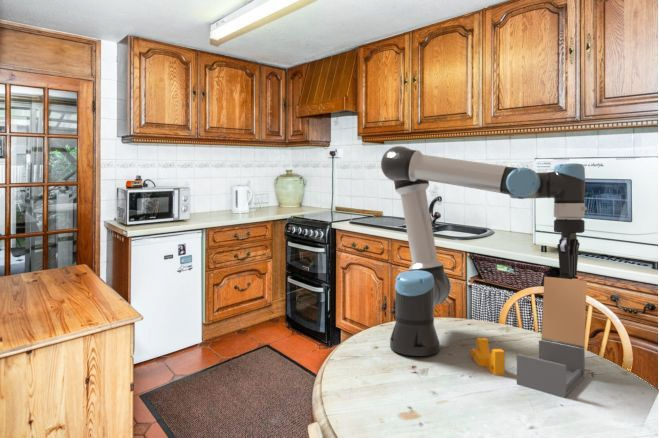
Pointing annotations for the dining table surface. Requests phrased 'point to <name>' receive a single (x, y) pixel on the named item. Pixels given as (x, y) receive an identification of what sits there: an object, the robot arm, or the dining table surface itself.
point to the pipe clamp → (488, 357)
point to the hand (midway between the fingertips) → (568, 301)
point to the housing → (552, 369)
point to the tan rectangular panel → (564, 311)
